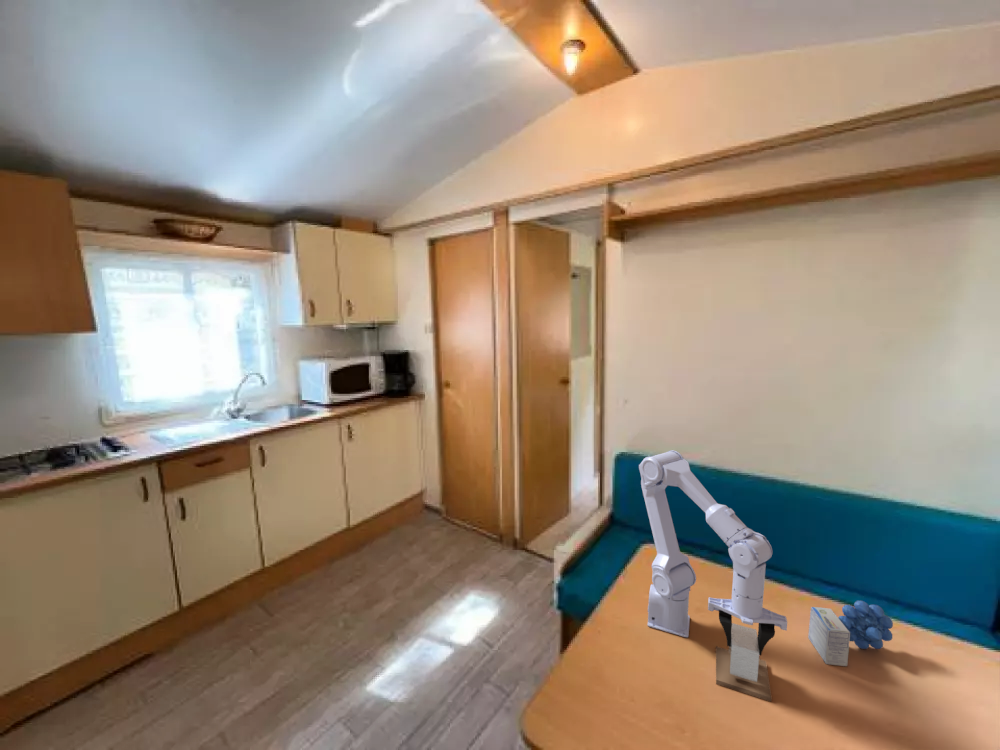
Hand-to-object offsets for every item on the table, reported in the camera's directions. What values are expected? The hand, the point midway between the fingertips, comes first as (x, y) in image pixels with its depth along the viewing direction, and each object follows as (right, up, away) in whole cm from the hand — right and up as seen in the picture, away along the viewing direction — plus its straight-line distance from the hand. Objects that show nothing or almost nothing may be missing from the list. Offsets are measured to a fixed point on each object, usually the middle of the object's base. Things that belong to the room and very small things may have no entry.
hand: (743, 647), depth 92 cm
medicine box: (+23, -5, +6) cm, 24 cm away
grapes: (+32, -5, +6) cm, 33 cm away
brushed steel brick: (0, -4, +1) cm, 4 cm away
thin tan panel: (0, -7, +1) cm, 7 cm away
